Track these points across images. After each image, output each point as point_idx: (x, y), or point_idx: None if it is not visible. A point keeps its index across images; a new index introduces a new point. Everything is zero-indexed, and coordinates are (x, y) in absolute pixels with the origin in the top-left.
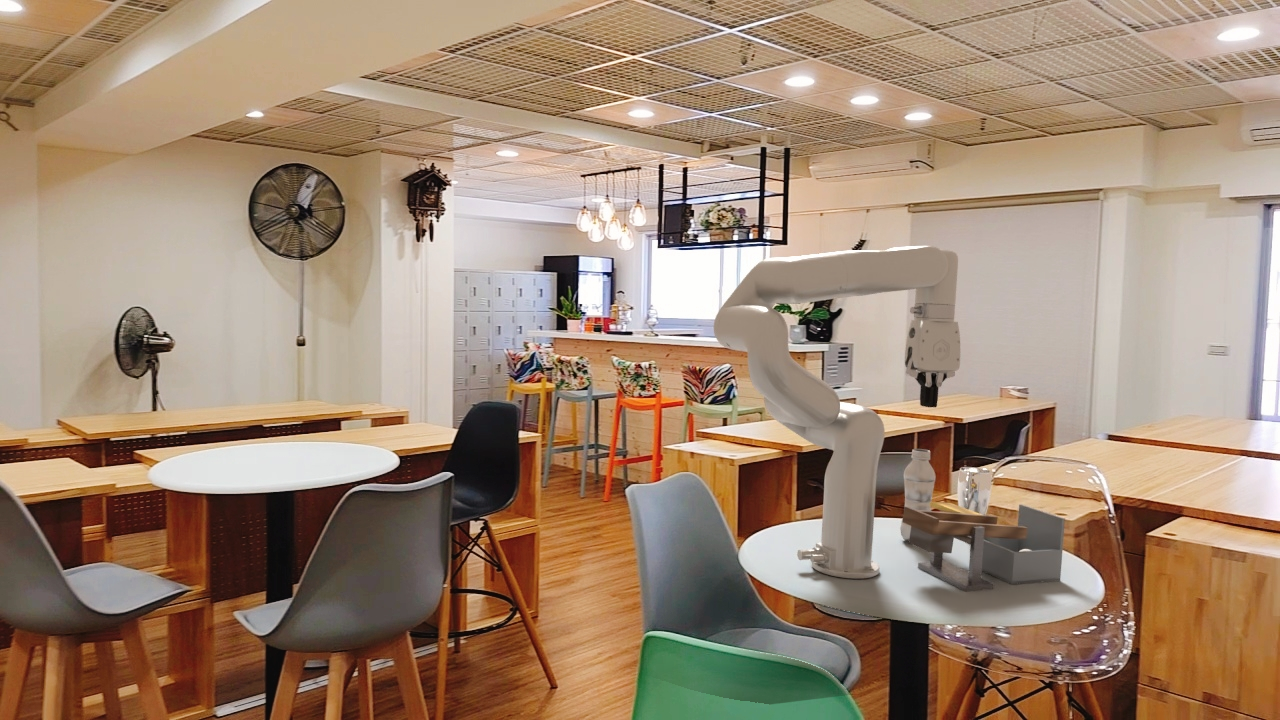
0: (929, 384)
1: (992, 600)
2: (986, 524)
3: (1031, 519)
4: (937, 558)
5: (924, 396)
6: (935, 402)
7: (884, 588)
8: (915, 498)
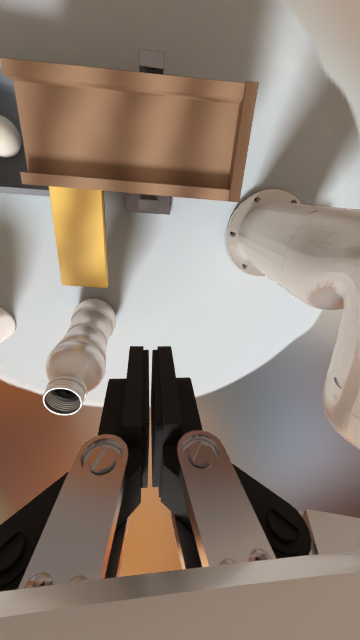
0: (195, 448)
1: (164, 27)
2: (114, 76)
3: None
4: (149, 197)
5: (194, 398)
6: (140, 356)
7: (275, 146)
8: (99, 334)
